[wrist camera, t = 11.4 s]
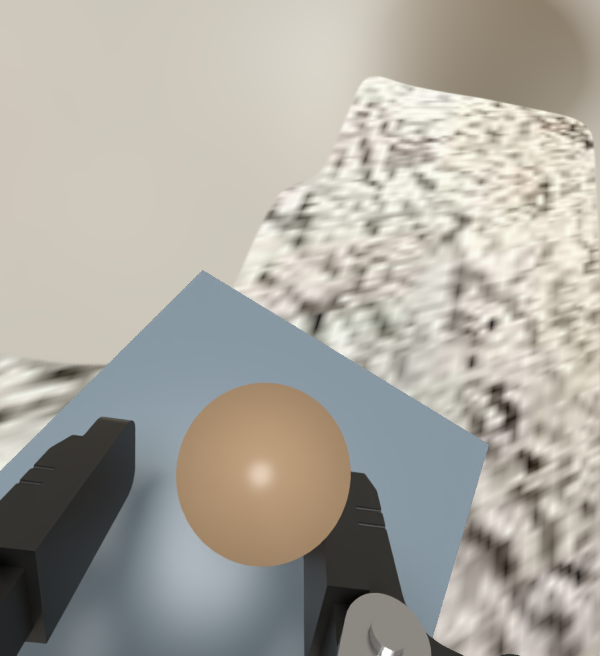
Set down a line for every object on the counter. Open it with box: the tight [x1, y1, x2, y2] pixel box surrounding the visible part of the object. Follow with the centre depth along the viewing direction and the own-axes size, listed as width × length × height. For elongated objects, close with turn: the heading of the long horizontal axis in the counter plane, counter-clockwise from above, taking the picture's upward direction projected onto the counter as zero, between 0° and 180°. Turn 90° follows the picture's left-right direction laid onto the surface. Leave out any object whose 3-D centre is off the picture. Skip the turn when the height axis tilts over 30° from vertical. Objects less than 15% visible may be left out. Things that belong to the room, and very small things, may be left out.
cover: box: [0, 270, 489, 656], centre depth 12 cm, size 14×14×16 cm
